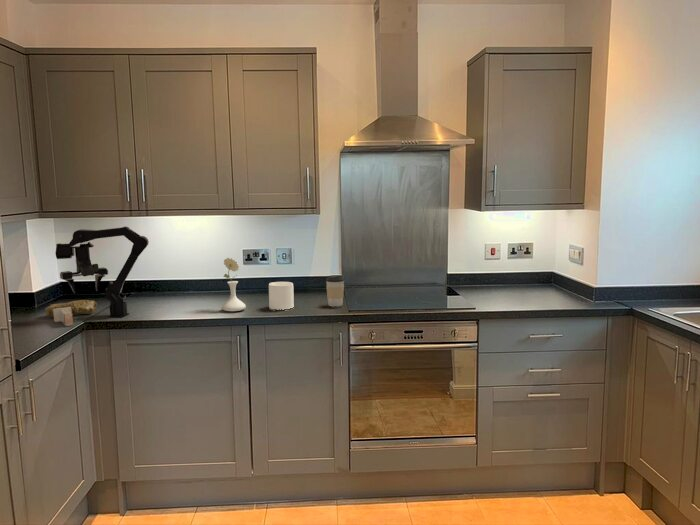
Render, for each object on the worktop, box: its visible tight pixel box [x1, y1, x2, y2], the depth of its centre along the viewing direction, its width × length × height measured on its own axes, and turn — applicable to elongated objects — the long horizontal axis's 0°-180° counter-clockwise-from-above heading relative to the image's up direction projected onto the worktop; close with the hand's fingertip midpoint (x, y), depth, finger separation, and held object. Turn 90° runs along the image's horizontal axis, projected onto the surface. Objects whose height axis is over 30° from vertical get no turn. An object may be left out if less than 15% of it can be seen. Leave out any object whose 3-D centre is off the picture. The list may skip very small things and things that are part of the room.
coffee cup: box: [325, 274, 345, 307], centre depth 269 cm, size 9×9×15 cm
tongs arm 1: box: [59, 309, 69, 327], centre depth 237 cm, size 12×1×5 cm, turn 37°
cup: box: [268, 281, 295, 310], centre depth 265 cm, size 12×12×12 cm
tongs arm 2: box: [63, 309, 74, 327], centre depth 238 cm, size 12×1×5 cm, turn 37°
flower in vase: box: [221, 257, 247, 312], centre depth 260 cm, size 13×11×25 cm
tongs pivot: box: [53, 307, 72, 323], centre depth 244 cm, size 2×7×5 cm, turn 127°
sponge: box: [45, 299, 98, 318], centre depth 253 cm, size 13×8×20 cm
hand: (86, 292), depth 247 cm, fingers open, 9 cm apart
